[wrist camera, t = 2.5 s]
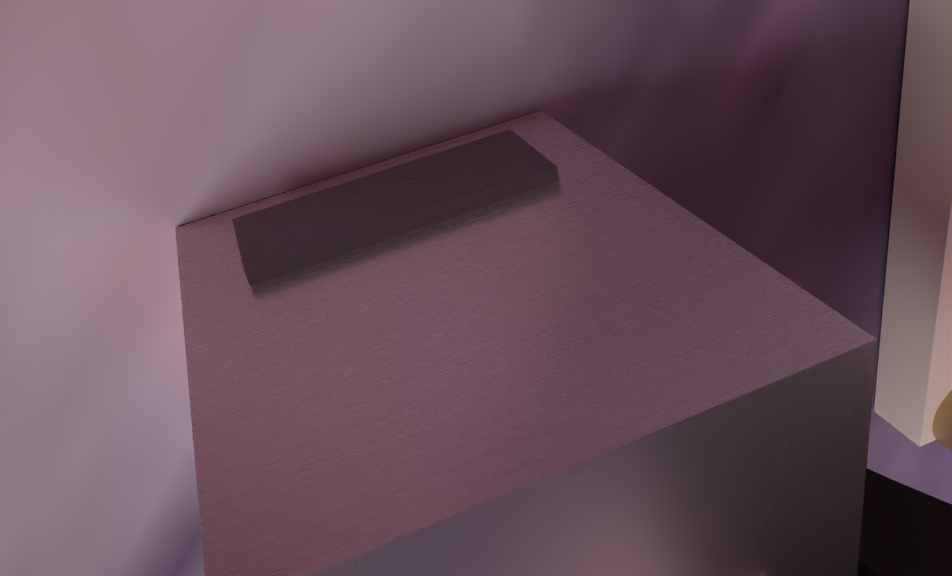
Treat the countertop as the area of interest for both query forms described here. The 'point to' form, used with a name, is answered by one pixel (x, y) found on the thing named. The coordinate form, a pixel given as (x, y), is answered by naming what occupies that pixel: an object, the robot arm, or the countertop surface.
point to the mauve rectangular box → (513, 378)
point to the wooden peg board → (921, 240)
